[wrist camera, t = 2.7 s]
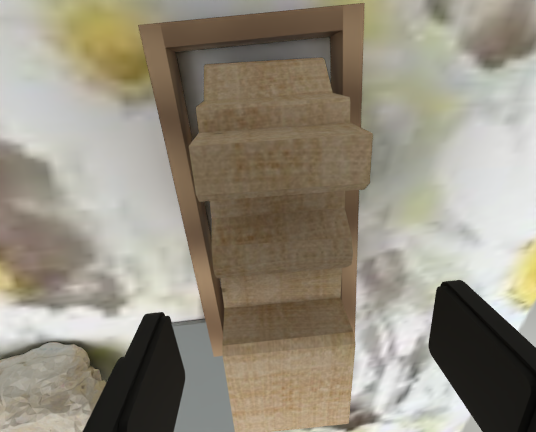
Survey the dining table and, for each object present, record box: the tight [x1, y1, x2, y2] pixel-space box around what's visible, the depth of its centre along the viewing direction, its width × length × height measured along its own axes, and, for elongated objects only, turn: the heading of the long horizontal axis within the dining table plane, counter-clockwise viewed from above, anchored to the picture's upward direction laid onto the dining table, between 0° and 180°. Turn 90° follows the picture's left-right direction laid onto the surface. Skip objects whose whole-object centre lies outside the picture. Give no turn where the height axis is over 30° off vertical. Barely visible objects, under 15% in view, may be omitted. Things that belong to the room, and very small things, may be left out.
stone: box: [0, 342, 106, 432], centre depth 22 cm, size 8×12×10 cm, turn 95°
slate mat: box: [172, 319, 235, 432], centre depth 27 cm, size 14×12×1 cm
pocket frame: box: [138, 3, 364, 357], centre depth 20 cm, size 21×10×2 cm, turn 5°
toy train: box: [189, 58, 373, 432], centre depth 16 cm, size 6×17×10 cm, turn 3°
